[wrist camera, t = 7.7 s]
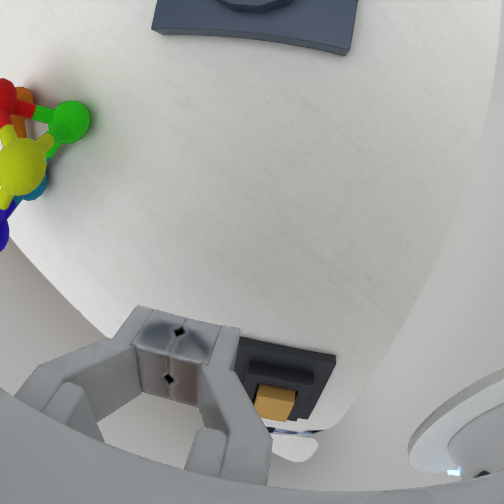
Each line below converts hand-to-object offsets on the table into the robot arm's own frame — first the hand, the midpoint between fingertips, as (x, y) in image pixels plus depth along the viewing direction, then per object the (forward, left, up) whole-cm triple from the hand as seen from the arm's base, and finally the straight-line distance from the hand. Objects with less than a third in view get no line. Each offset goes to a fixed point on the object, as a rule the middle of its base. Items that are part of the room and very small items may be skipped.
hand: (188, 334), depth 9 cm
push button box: (+3, -16, -17) cm, 24 cm away
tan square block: (-5, +20, -15) cm, 25 cm away
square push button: (-5, +20, -17) cm, 26 cm away
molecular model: (+21, -1, -17) cm, 27 cm away
